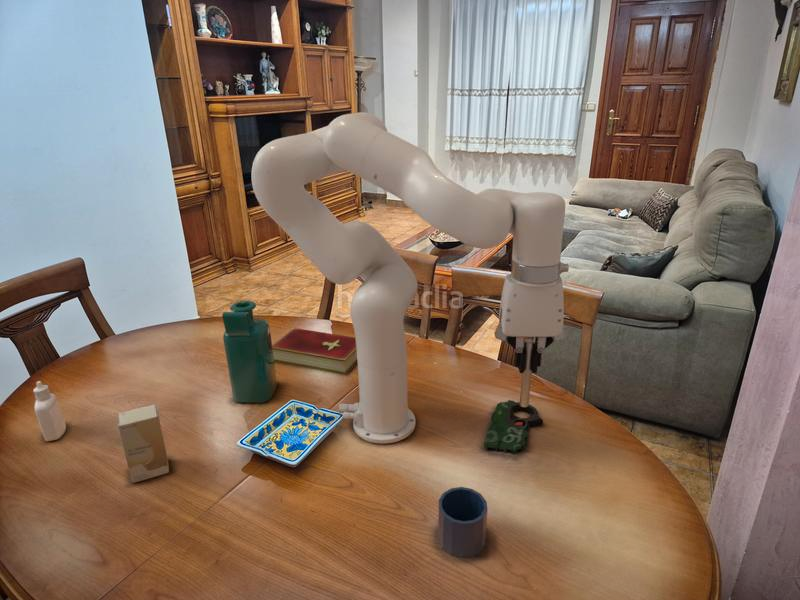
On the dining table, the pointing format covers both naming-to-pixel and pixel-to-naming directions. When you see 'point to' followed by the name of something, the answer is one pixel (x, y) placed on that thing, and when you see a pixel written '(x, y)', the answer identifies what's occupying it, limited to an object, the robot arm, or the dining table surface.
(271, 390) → the green bottle
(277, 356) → the hardcover book
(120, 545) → the dining table surface
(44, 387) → the eye dropper bottle
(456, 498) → the pen cup
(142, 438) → the cosmetic box
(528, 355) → the stylus
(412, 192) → the robot arm
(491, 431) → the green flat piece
